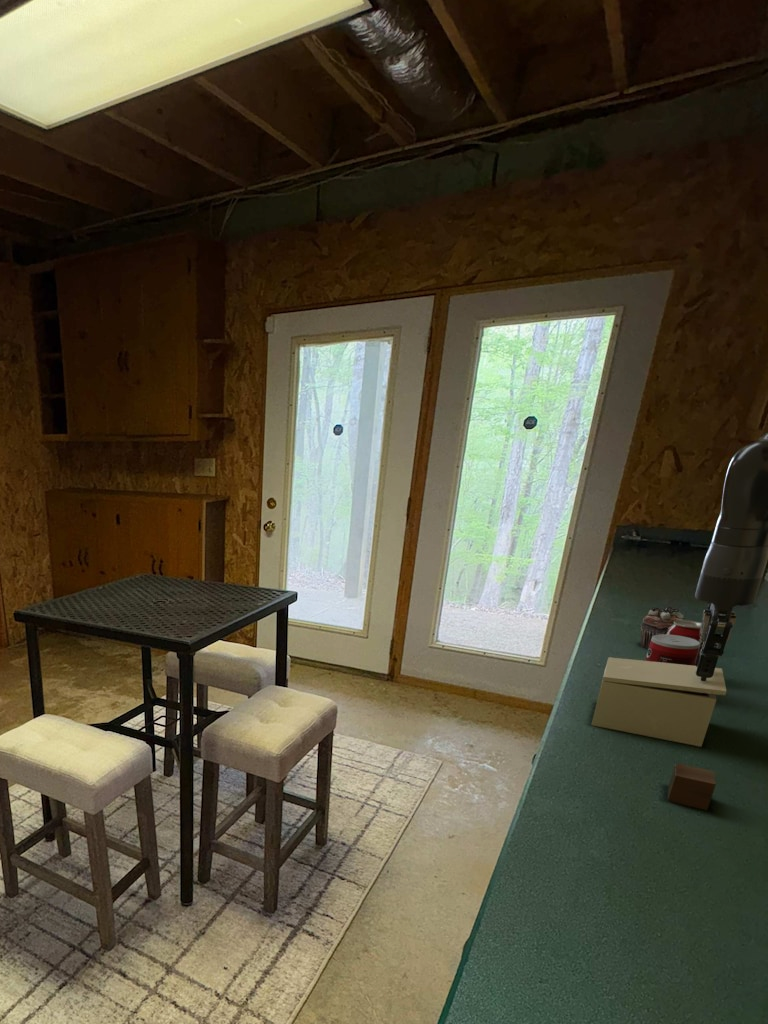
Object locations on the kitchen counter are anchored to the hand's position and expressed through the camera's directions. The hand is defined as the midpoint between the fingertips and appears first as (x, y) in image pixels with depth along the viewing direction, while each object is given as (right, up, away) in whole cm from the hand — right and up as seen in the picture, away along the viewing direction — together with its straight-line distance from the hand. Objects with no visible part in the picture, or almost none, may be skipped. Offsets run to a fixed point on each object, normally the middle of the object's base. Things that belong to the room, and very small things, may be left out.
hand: (703, 671), depth 106 cm
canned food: (+10, -4, +21) cm, 24 cm away
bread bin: (-4, -9, +7) cm, 13 cm away
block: (-16, -19, -16) cm, 30 cm away
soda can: (+18, -1, +28) cm, 33 cm away
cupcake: (+29, +7, +46) cm, 55 cm away
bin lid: (-4, -1, +4) cm, 6 cm away
